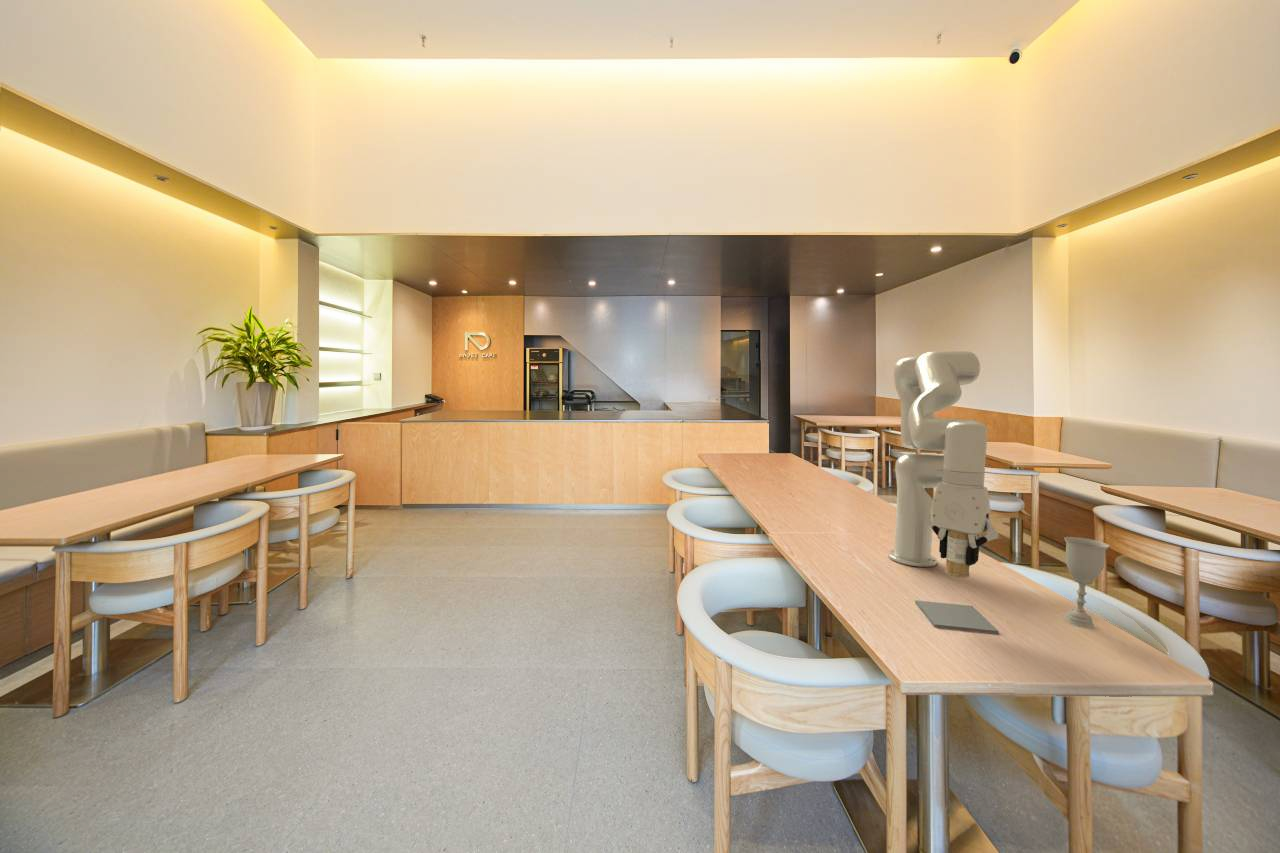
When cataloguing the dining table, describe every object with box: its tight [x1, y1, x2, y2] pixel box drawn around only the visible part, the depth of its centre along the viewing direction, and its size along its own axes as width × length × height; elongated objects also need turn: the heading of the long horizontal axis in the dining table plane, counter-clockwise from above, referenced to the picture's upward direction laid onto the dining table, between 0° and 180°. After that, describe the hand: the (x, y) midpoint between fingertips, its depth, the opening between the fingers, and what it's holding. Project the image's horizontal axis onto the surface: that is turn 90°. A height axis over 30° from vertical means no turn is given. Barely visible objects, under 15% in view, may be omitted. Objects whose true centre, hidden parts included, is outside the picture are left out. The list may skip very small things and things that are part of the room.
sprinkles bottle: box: [944, 529, 970, 579], centre depth 106 cm, size 5×5×13 cm
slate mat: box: [914, 599, 999, 635], centre depth 107 cm, size 12×12×1 cm
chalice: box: [1063, 536, 1110, 629], centre depth 105 cm, size 7×7×18 cm
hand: (957, 559), depth 106 cm, fingers closed on sprinkles bottle, 4 cm apart
